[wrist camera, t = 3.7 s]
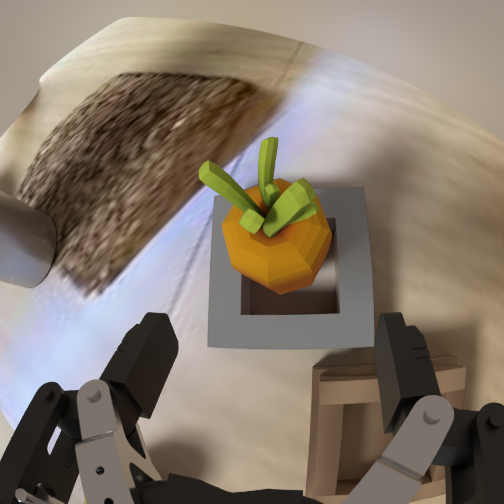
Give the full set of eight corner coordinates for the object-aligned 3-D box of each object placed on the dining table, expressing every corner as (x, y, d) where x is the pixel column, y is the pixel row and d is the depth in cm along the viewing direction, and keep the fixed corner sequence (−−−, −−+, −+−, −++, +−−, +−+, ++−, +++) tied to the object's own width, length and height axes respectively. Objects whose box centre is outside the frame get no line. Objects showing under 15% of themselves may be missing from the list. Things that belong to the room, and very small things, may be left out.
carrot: (247, 270, 24) (151, 179, 10) (296, 230, 24) (265, 93, 10) (287, 320, 22) (238, 299, 8) (338, 277, 22) (375, 183, 8)
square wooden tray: (305, 491, 18) (302, 516, 14) (312, 366, 21) (312, 374, 17) (434, 477, 16) (450, 497, 12) (449, 355, 19) (472, 358, 15)
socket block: (220, 345, 23) (207, 347, 20) (225, 210, 25) (214, 195, 23) (366, 344, 20) (374, 346, 18) (358, 203, 23) (363, 187, 20)
